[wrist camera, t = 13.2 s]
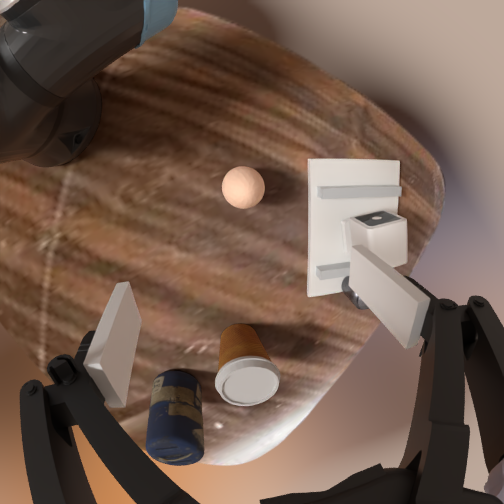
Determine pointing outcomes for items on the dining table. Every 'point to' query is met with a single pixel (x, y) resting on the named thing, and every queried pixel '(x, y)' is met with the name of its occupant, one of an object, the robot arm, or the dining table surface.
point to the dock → (343, 212)
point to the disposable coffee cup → (245, 368)
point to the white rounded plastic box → (378, 235)
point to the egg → (243, 187)
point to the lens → (352, 294)
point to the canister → (175, 419)
